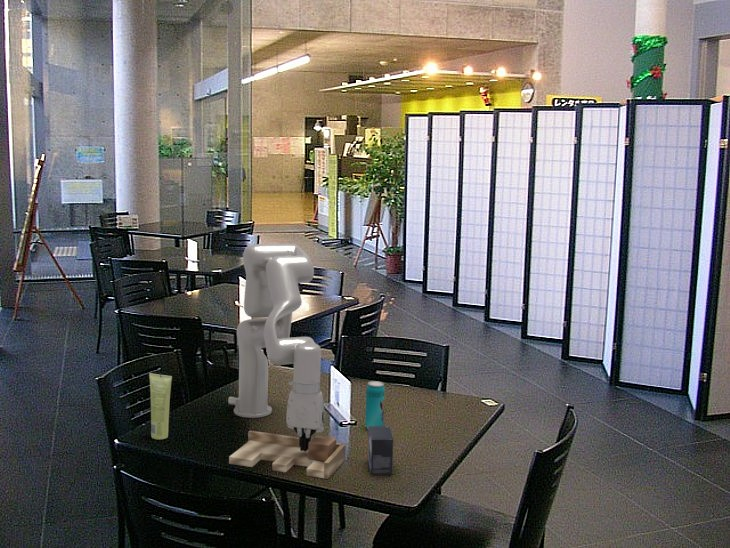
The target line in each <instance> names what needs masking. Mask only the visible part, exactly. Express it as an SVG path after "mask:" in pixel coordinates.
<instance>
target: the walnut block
mask: <svg viewBox="0 0 730 548" xmlns="http://www.w3.org/2000/svg"><path fill="white" fill-rule="evenodd" d="M311 439H312V440H311V441H310V442H309V444H308V460H314V461H320V462H325V461H326V460H327V459H328V458H329V457H330V456H331V455H332V454H333V453H334V451H335V450H336V443H337V438H335V437H329V436H322V435H316V436H315V437H313V438H311Z"/></svg>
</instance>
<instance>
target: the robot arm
mask: <svg viewBox="0 0 730 548" xmlns="http://www.w3.org/2000/svg"><path fill="white" fill-rule="evenodd" d="M242 263H243V267H244V271H245V275H246V276H245V287H244V299H243V300H244V301H243V309H244V313H245V314H246V316H247V317H250V319H245V320H242V321H240V322H239V324H238V325H237V328H236V338H237V345H238V355H239V356H238V359H239V360H238V361H239V362H238V366H239V367H238V397H235V396H229V397H228V398H227V399H228V400H227V401H228V404H229V405H234V406H235V407H234V408H233V413H234V414H235V416H239V417H241V418H250V419H255V418H257V419H258V418H263V417H267V416H269V415H271V414H272V413H273V408H272V406H270V405H268V400H269V398H268V396H269V395H268V390H269V389H268V387H269V362H270V363H271V364H274V365H276V366H282V365H292V364H293V376H292V377H293V378H292V380H289V381H288V386H289V387H291V388H292V389H291V390H290V391H289V395H288V400H287V405H286V413H285V414H286V417H285V422H286V426H287V428H288V429H290V430H293V431H294V432H295V433H296V434H297V437H299V447H300V451H305V452H306V451H307V450H308V444H309V442H310V441H311V439H312V436H313V435H314V434H316V433H319V434H320V433H323V432H324V431H325V427H324V424H325V423H324V422H325V404H324V397H323V391H321V369H322V367H321V365H322V364H321V363H322V362H321V361H322V348H321V346H320V345H319V344H318V343H316V342H315V341H314V339H313V338H312V337H311V336H296V337H292V336H291V337H290V335H291V327H292V319H293V312H296V311H297V310H298V309H299V308H300V307H301V306H302V303H303V302H302V301H303V300H302V298H301V293H300V288H299V284H307V283H309V282H312V280H313V278H314V275H315V268H314V264H313V262H312V260H311V257H310V256H309V255H308V254H307V253H306V252H305V251H304V250H303V249H302V248H301V247H300V246H299V245H297V244H295V243H257V244H254V243H253V244H250V245H248V246H246V247H245V249H244V251H243V253H242ZM262 349H266V354H267V356H266V355H265V353H264V352H263V351H262Z"/></svg>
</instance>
